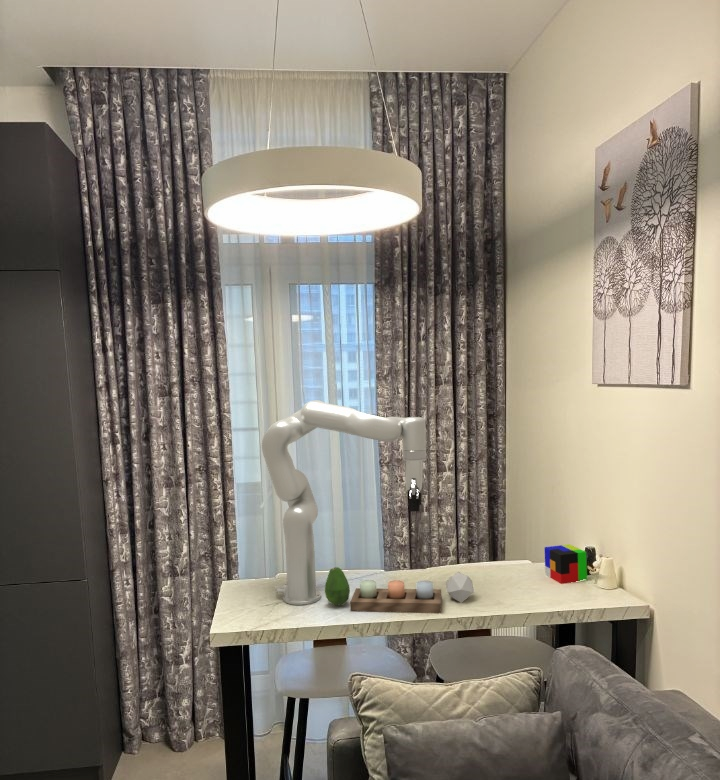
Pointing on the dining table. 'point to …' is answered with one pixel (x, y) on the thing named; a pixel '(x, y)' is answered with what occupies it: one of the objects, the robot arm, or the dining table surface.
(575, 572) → the puzzle toy
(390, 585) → the button terracotta
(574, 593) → the dining table surface
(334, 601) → the avocado
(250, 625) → the dining table surface
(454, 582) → the die
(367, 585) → the button sage
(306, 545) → the robot arm
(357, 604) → the board
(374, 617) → the dining table surface
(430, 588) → the button blue
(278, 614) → the dining table surface
